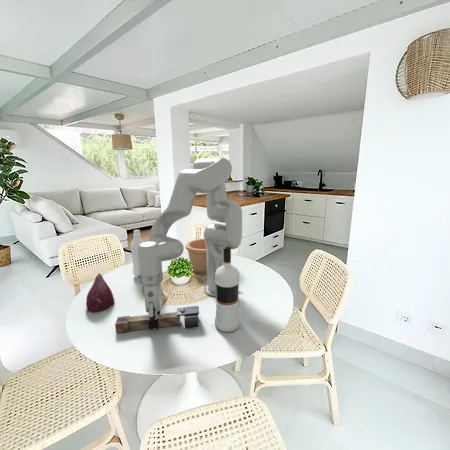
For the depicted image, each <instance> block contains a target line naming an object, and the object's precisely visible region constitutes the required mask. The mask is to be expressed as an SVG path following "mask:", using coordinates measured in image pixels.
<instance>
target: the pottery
mask: <svg viewBox="0 0 450 450" xmlns="http://www.w3.org/2000/svg"><path fill="white" fill-rule="evenodd" d="M184 248H185V250H186V251H188V252H187V254H188V258H189V263H190V262H191V264H192V266H193V270H194V271H193V272H194V273H196V274H202V275H207V254H206V245H205V240H204V238H198V239H197V238H196V239H193V240H190V241H188V242H186V243H185V247H184ZM191 264H190V265H191Z"/></svg>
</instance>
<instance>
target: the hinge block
mask: <svg viewBox="0 0 450 450" xmlns="http://www.w3.org/2000/svg"><path fill="white" fill-rule="evenodd" d="M176 312H177V316H180V317H182V316H183V318H184V329H186V330H187V329H195V328H199V327H200V323H199V322H200V321H199V315H200V308H199V306H198V305H191V306H184V307H177V308H176Z"/></svg>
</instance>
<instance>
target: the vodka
mask: <svg viewBox="0 0 450 450" xmlns="http://www.w3.org/2000/svg"><path fill="white" fill-rule="evenodd" d="M223 253H224V254H223V265H222V266H221V267H219V268H218V269H217V270H216V272H215V278H216V280H215V282H216V296H215V317H214V326H215V327H216V329H218V330H219V331H221V332H225V333H231V332H234V331H236V330H237V329H239V327H240V325H241V318H240V312H239V304H240V298H239V288H240V287H239V283H240V272H239V270H238V268H237V267H235V266H233V265H232V249H231V247H228V246H226V247H224V248H223Z"/></svg>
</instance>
